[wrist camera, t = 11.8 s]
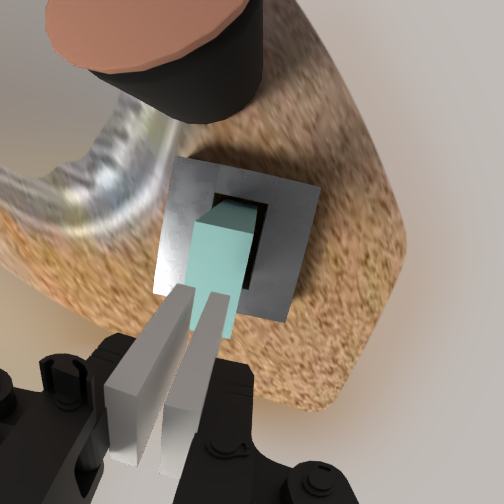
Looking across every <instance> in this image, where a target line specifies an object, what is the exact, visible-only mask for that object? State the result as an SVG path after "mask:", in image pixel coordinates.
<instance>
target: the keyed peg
mask: <svg viewBox="0 0 504 504" xmlns="http://www.w3.org/2000/svg"><path fill="white" fill-rule="evenodd" d="M257 209H258V206H256V205H252V204H247V203H243V202H238V201H234V200H229V199H225V200H224V201H222V202H221V203H220V204H218V205H217V206H215V207H214V208H213V209H211V210H210V211H208V212H207V213H206V214H204V215H203V216H201V217H200V218H199V219H197V220H196V221H195V223H194V228H193V234H192V239H191V245H190V251H189V256H188V262H187V268H186V274H185V280H184V285H187V286H191V287H195V288H196V291H195V297H194V303H193V309H192V315H191V321H190V327H189V330H193V331H194V330H195V328H196V326H197V323H198V321H199V319H200V316H201V314H202V311H203V309H204V307H205V304H206V302H207V300H208V297H209V295H210V293H211V291H212V292H216V293H221V294H225V295H230V301H229V305H228V310H227V315H226V319H225V324H224V329H223V333H222V337H223V338H227V339H230V337H231V332H232V328H233V324H234V319H235V315H236V310H237V306H238V301H239V297H240V293H241V288H242V284H243V279H244V275H245V271H246V266H247V262H248V257H249V253H250V249H251V244H252V240H253V235H254V229H255V222H256V215H257Z"/></svg>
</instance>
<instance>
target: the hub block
mask: <svg viewBox="0 0 504 504" xmlns="http://www.w3.org/2000/svg"><path fill="white" fill-rule="evenodd" d="M320 191H321V187H318V186H314V185H310V184H306V183H302V182H298V181H294V180H289V179H285V178H281V177H277V176H273V175H268V174H264V173H259V172H255V171H250V170H246V169H241V168H236V167H231V166H226V165H221V164H216V163H211V162H206V161H201V160H195V159H190V158H184V157H179V156H175V159H174V164H173V169H172V174H171V179H170V185H169V190H168V195H167V201H166V207H165V212H164V218H163V225H162V231H161V237H160V244H159V251H158V258H157V265H156V273H155V280H154V289H153V293H157V294H160V295H164V296H168V295H169V293H170V292H171V291H172V289H173V288H174V287H175V285H176V284H177V283H178V284H183V285H184V280H185V274H186V268H187V262H188V256H189V251H190V245H191V239H192V234H193V228H194V223H195V221H196V220H197V219H199V218H200V217H201V216H203V215H204V214H206V213H207V212H208V211H210V210H211V209H213V208H214V207H215V206H217V205H218V202H219V197H220V194H225V195H229V196H234V197H239V198H243V199H248V200H252V201H257V202H261V203H265V204H267V206H266V210H265V215H264V219H263V223H262V228H261V232H260V236H259V240H258V245H257V249H256V253H255V258H254V262H253V266H252V271H251V275H246V274H245V275H244V279H243V284H242V288H241V293H240V297H239V301H238V306H237V310H236V313H240V314H245V315H250V316H254V317H259V318H264V319H269V320H274V321H279V322H284V323H285V322H286V319H287V315H288V312H289V308H290V305H291V301H292V298H293V294H294V291H295V287H296V284H297V280H298V276H299V273H300V269H301V265H302V262H303V258H304V254H305V250H306V247H307V243H308V239H309V235H310V231H311V227H312V224H313V220H314V216H315V212H316V208H317V204H318V199H319V195H320Z"/></svg>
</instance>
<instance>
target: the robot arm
mask: <svg viewBox="0 0 504 504" xmlns="http://www.w3.org/2000/svg"><path fill="white" fill-rule="evenodd" d="M195 291H196V288H195V287H191V286H187V285H183V284H178V283H177V284H176V285H175V287H174V288H173V289H172V291H171V292H170V293H169V295H168V296H167V297H166V299H165V300H164V302H163V303H162V304H161V306H160V307H159V308H158V310H157V311H156V312H155V314H154V315H153V316H152V318H151V319H150V321H149V322H148V323H147V325H146V326H145V327H144V329H143V330H142V332H141V333H140V334H139V336H138V337H137V338H134V337H131V336H128V335H124V334H121V333H116V334H113V335H111V336H109V337H107V338H105V339H104V340H103V341H102V343H101V344H100V345H99V346H98V348H97V349H95V351H94V352H93V353H92V355H91V356H89V358H88V359H87V360H84V359H82V358H80V357H78V356H75V355H71V354H53V355H50V356H46V357H45V358H43V359H42V360H40V361H39V365H40V371H41V377H42V382H43V387H44V390H43V391H42V392H34V391H30V390H24V389H20V388H16V387H13V383H12V379H11V377H10V376H9V375H8V373H7V372H5V371H4V370H2V369H0V504H90V503H91V501H92V498H93V496H94V494H95V491H96V489H97V486H98V484H99V482H100V479H101V477H102V474H103V470H104V462H103V458H104V456H105V454H106V452H107V450H108V448H109V451H110V458H112V459H114V460H117V461H120V462H123V463H126V464H128V465H132V466H135V467H138V464H139V462H140V459H141V457H142V454H143V452H144V449H145V447H146V444H147V442H148V439H149V437H150V434H151V432H152V429H153V427H154V424H155V422H156V419H157V417H158V414H159V412H160V410H161V407H162V405H163V402H164V400H165V397H166V395H167V392H168V390H169V388H170V385H171V382H172V380H173V378H174V376H175V373H176V371H177V368H178V366H179V364H180V361H181V359H182V356H183V354H184V352H185V349H186V347H187V340H188V334H189V327H190V321H191V315H192V309H193V303H194V297H195ZM229 301H230V295H225V294H221V293H216V292H212V291H211V293H210V295H209V297H208V300H207V302H206V304H205V307H204V309H203V311H202V314H201V316H200V319H199V321H198V323H197V326H196V328H195V330H194V333H193V335H192V338H191V340H190V342H189V345H188V347H187V350H186V352H185V354H184V357H183V359H182V362H181V364H180V367H179V369H178V372H177V374H176V377H175V379H174V381H173V384H172V386H171V389H170V391H169V393H168V396H167V399H166V401H165V403H164V411H163V423H162V437H161V452H160V469H159V474H162V475H165V476H169V477H172V478H176V479H180V481H179V484H178V487H177V491H176V494H175V497H174V500H173V504H359V502H358V501H357V498H356V496H355V495H354V492H353V490H352V488H351V486H350V484H349V483H348V480H347V479H346V477H345V476H344V475H343V473H342V472H341V471H340V470H338V469H337V468H335V467H334V466H332V465H330V464H327V463H324V462H321V461H307V462H303V463H299V464H298V465H296V466H295V467H294V468H290V467H287V466H285V465H282V464H279V463H276V462H274V461H272V460H270V459H268V458H266V457H265V456H264V455H263V454H261V453H260V452H259V451H258V450H257V449H256V447H255V445H254V443H253V441H252V436H251V429H252V409H253V390H254V389H253V388H254V374H253V373H252V371H251V369H250V367H249V366H248V364H243V363H238V362H233V361H229V360H224V359H219V358H217V357H218V352H219V348H220V343H221V338H222V333H223V329H224V324H225V319H226V315H227V310H228V305H229Z"/></svg>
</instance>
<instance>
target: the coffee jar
mask: <svg viewBox="0 0 504 504" xmlns="http://www.w3.org/2000/svg"><path fill="white" fill-rule="evenodd" d="M46 32H47V35H48V37H49V39H50V41H51V44H52V46H53V48H54V50H55V52H57V53H58V54H59V55H61V56H62V57H63V58H65V59H66V60H67V61H69V62H70V63H71V64H73V65H74V66H77V67H80V68H84V69H88V70H89V71H90V72H92V73H93V74H94V75H95V76H97V77H98V78H99V79H101V80H103V81H105V82H107V83H109V84H111V85H113V86H115V87H117V88H119V89H120V90H122V91H124V92H126V93H128V94H130V95H132V96H134V97H135V98H137V99H139V100H141V101H143V102H145V103H146V104H148V105H150V106H152V107H154V108H155V109H157V110H159V111H161V112H162V113H164V114H166V115H168V116H170V117H171V118H174V119H177V120H179V121H182V122H185V123H188V124H209V123H213V122H217V121H221V120H225V119H227V118H228V117H230V116H232V115H233V114H235V113H237V112H239V111H240V110H242V109H243V108H244V106H245V105H246V104H247V103H248V102H249V101H250V100H251V99H252V98H253V97H254V95H255V93H256V91H257V89H258V87H259V84H260V82H261V79H262V68H263V9H262V0H48V3H47V5H46Z"/></svg>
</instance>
